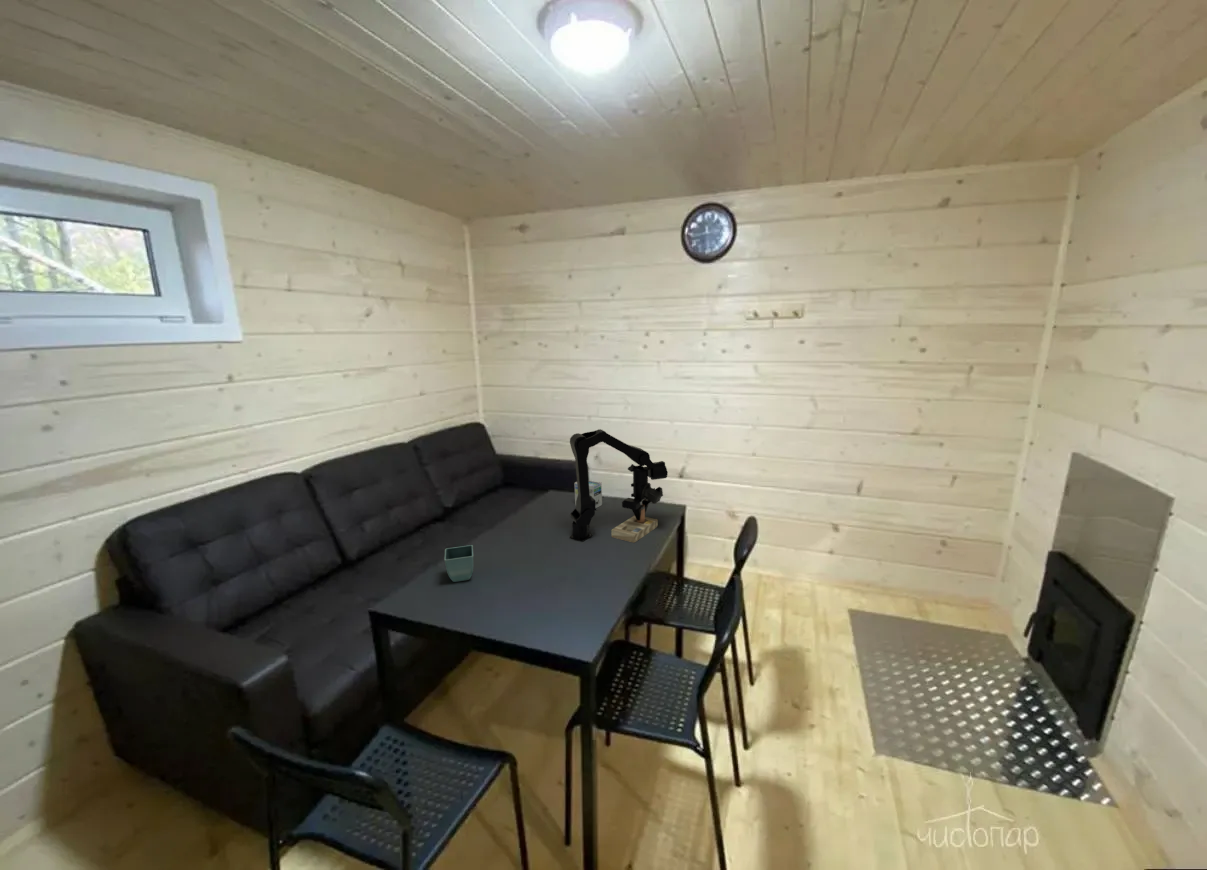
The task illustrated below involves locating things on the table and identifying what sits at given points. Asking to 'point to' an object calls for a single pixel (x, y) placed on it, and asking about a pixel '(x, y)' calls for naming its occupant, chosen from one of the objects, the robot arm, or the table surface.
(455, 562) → the flower pot
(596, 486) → the light bulb box
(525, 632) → the table surface
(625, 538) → the socket block
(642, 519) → the plug
